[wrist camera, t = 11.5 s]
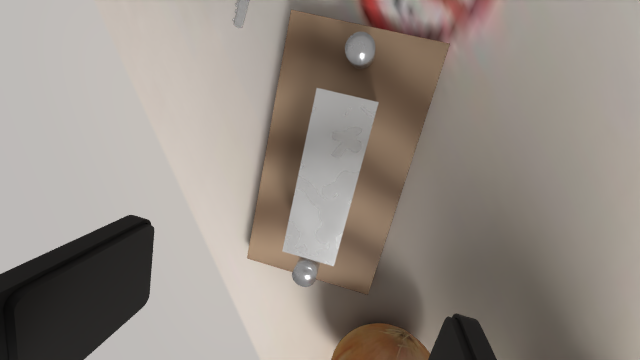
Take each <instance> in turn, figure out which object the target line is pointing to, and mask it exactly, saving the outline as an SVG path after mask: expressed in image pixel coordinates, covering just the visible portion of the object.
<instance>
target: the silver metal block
mask: <svg viewBox="0 0 640 360" xmlns="http://www.w3.org/2000/svg"><path fill="white" fill-rule="evenodd" d="M378 103H379V102H376V101H372V100H367V99H363V98H359V97H355V96H350V95H346V94H342V93H337V92H333V91H329V90H325V89H320V88H317V89H316V94H315V99H314V103H313V108H312V113H311V117H310V122H309V127H308V132H307V136H306V141H305V146H304V151H303V155H302V160H301V165H300V170H299V174H298V179H297V184H296V188H295V193H294V198H293V203H292V207H291V212H290V217H289V222H288V226H287V231H286V236H285V240H284V245H283V250H282V251H283V252H286V253H290V254H293V255H297V256H300V257H303V258H307V259H310V260H314V261H317V262H320V263H324V264H327V265H331V266H334V264H335V260H336V257H337V253H338V249H339V246H340V242H341V238H342V235H343V231H344V227H345V224H346V220H347V216H348V213H349V209H350V205H351V202H352V198H353V194H354V191H355V187H356V183H357V180H358V176H359V172H360V169H361V165H362V161H363V158H364V154H365V151H366V147H367V143H368V140H369V136H370V132H371V129H372V125H373V121H374V118H375V114H376V110H377V107H378Z"/></svg>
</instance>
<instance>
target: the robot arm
mask: <svg viewBox="0 0 640 360" xmlns="http://www.w3.org/2000/svg"><path fill="white" fill-rule="evenodd" d="M153 240H154V227H153V226H151V222H150V221H149V220H147V219H144V218H141V217H138V216H134V215H129V216H126V217H124V218H121V219H119V220H117V221H115V222H113V223H111V224H108V225H106V226H104V227H102V228H100V229H97V230H95V231H93V232H91V233H89V234H87V235H84V236H82V237H80V238H78V239H76V240H74V241H72V242H69V243H67V244H65V245H63V246H61V247H58V248H56V249H54V250H52V251H50V252H48V253H45V254H43V255H41V256H39V257H37V258H34V259H32V260H30V261H28V262H26V263H24V264H21V265H19V266H17V267H15V268H13V269H11V270H9V271H6V272H5V273H2V274H0V360H84V359H85V358H86V357H87V356H88V355H89V354H91V353H92V352H93V351H94V350H95V349H96V348H97V347H98V346H100V345H101V344H102V343H103V342H104V341H105V340H106V339H107V338H108V337H110V336H111V335H112V334H113V333H114V332H115V331H116V330H118V329H119V328H120V327H121V326H122V325H123V324H124V323H126V322H127V321H128V320H129V319H130V318H131V317H132V316H133V315H135V314H136V313H137V312H138V311H139V310H140V309H141V308H142V307H143V306H144V305H145V304H146V302H147V300H148V298H149V294H150V281H151V268H152V253H153ZM428 360H497V359H496V357H495V355H494V353H493V351H492V348H491V346H490V344H489V342H488V340H487V338H486V336H485V334H484V332H483V330H482V328H481V326H480V324H479V322H478V321H477V320H476V319H473V318H469V317H466V316H463V315H459V314H454V315H453V316H452V317H447V318H446V319H445V321H444V323H443V325H442V328H441V330H440V332H439V335H438V337H437V340H436V342H435V344H434V347H433V349H432V351H431V354H430V356H429V358H428Z"/></svg>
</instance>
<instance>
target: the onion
mask: <svg viewBox="0 0 640 360" xmlns="http://www.w3.org/2000/svg"><path fill="white" fill-rule="evenodd" d="M429 356H430V353H429V352H428V350H427V349H426V348H425V346H424V345H423V344H422V343H421V342H420V341H419V340H417V339H416V338H415V337H414V336H413V335H411V334H410V333H409V332H407V331H406V330H404V329H402V328H399V327H396V326H393V325H390V324H384V323H374V324H368V325H363V326H360V327H358V328H356V329H354V330H352V331H351V332H349V333H348V334H347V335H346V336H345V337H344V338H343V339H342V340H341V341H340V342H339V344H338V345H337V347H336V349H335V350H334V353H333V356H332V359H331V360H428V358H429Z"/></svg>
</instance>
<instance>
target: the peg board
mask: <svg viewBox="0 0 640 360" xmlns="http://www.w3.org/2000/svg"><path fill="white" fill-rule="evenodd" d="M449 45H450V44H449V43H444V42H440V41H435V40H430V39H426V38H421V37H416V36H412V35H407V34H402V33H398V32H393V31H388V30H384V29H379V28H374V27H370V26H365V25H360V24H356V23H351V22H346V21H342V20H337V19H332V18H328V17H323V16H318V15H314V14H309V13H304V12H300V11H295V10H291V13H290V19H289V24H288V30H287V36H286V41H285V47H284V53H283V58H282V64H281V69H280V75H279V81H278V86H277V92H276V98H275V103H274V109H273V115H272V120H271V126H270V132H269V137H268V143H267V149H266V154H265V160H264V165H263V171H262V177H261V182H260V188H259V194H258V199H257V205H256V211H255V216H254V222H253V228H252V233H251V239H250V244H249V250H248V256H247V258H248V259H251V260H254V261H258V262H261V263H264V264H268V265H271V266H274V267H277V268H281V269H284V270H287V271H291V272H293V273H292V277H293V280H294V281H295V283H296V284H298V285H300V286H302V287H308V286H311V285H312V284H313V283H314V282H315V279H317V280H321V281H324V282H327V283H330V284H334V285H337V286H340V287H344V288H347V289H350V290H354V291H357V292H360V293H364V294H367V295H368V293H369V290H370V287H371V284H372V281H373V278H374V275H375V272H376V269H377V266H378V262H379V259H380V256H381V253H382V250H383V247H384V244H385V241H386V238H387V235H388V232H389V229H390V226H391V223H392V220H393V217H394V213H395V210H396V207H397V204H398V201H399V198H400V195H401V192H402V189H403V186H404V183H405V180H406V177H407V174H408V171H409V168H410V165H411V161H412V158H413V155H414V152H415V149H416V146H417V143H418V140H419V137H420V134H421V131H422V128H423V125H424V122H425V119H426V116H427V112H428V109H429V106H430V103H431V100H432V97H433V94H434V91H435V88H436V85H437V82H438V79H439V76H440V73H441V70H442V67H443V64H444V60H445V57H446V54H447V51H448V48H449ZM317 88H320V89H325V90H329V91H333V92H337V93H342V94H346V95H350V96H355V97H359V98H363V99H367V100H372V101H376V102H379V103H378V107H377V110H376V114H375V118H374V121H373V125H372V129H371V132H370V136H369V140H368V143H367V147H366V151H365V154H364V158H363V161H362V165H361V169H360V172H359V176H358V180H357V183H356V187H355V191H354V194H353V198H352V202H351V205H350V209H349V213H348V216H347V220H346V224H345V227H344V231H343V235H342V238H341V242H340V246H339V249H338V253H337V257H336V260H335V264H334V266H331V265H327V264H324V263H320V262H317V261H314V260H310V259H307V258H303V257H300V256H297V255H293V254H290V253H286V252H283V251H282V250H283V245H284V240H285V236H286V231H287V226H288V222H289V217H290V212H291V207H292V203H293V198H294V193H295V188H296V184H297V179H298V174H299V170H300V165H301V160H302V155H303V151H304V146H305V141H306V136H307V132H308V127H309V122H310V117H311V113H312V108H313V103H314V99H315V94H316V89H317Z"/></svg>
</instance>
